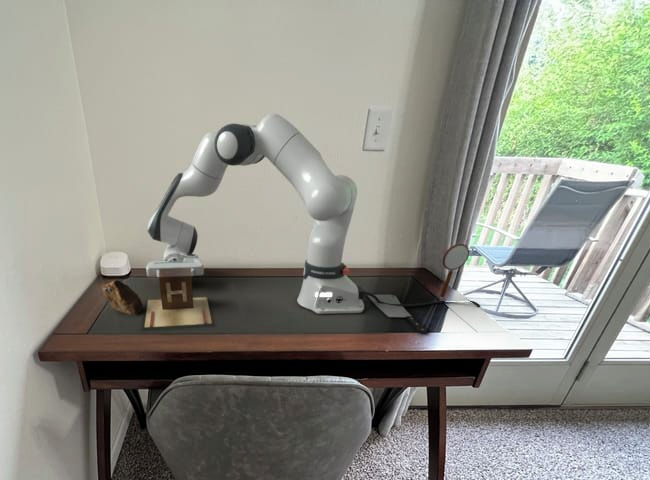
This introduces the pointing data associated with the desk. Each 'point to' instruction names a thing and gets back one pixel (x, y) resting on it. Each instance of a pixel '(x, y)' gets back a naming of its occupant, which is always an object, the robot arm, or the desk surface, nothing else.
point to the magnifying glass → (454, 261)
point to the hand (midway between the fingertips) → (175, 276)
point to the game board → (177, 314)
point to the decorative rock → (122, 297)
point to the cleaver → (396, 310)
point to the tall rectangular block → (176, 288)
